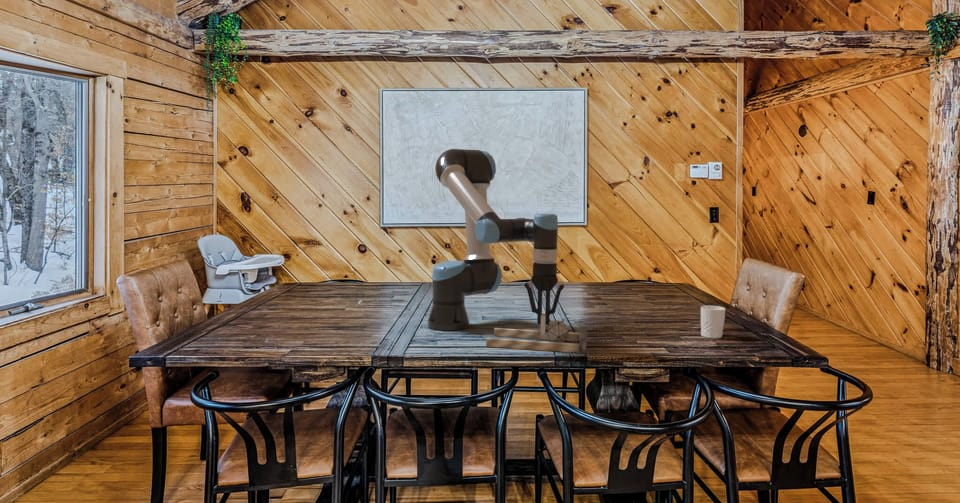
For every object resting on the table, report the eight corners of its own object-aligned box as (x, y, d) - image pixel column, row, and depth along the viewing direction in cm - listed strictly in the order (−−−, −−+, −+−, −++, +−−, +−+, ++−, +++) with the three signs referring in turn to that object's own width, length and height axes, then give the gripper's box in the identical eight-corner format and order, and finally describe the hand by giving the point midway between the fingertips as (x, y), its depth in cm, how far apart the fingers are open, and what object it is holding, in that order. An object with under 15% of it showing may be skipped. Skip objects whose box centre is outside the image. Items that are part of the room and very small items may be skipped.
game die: (559, 353, 184) (574, 327, 187) (563, 351, 176) (579, 324, 178) (535, 338, 185) (550, 313, 188) (539, 335, 177) (554, 309, 179)
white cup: (722, 334, 196) (724, 306, 195) (724, 339, 189) (726, 310, 188) (698, 332, 199) (700, 304, 198) (699, 337, 192) (701, 309, 190)
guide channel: (486, 346, 178) (486, 331, 177) (495, 334, 192) (495, 320, 192) (585, 353, 171) (585, 337, 171) (586, 340, 186) (587, 326, 185)
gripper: (523, 262, 176) (521, 335, 179) (564, 264, 173) (562, 338, 176) (526, 259, 184) (524, 330, 186) (566, 261, 181) (564, 332, 183)
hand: (543, 334), depth 181 cm, fingers closed
